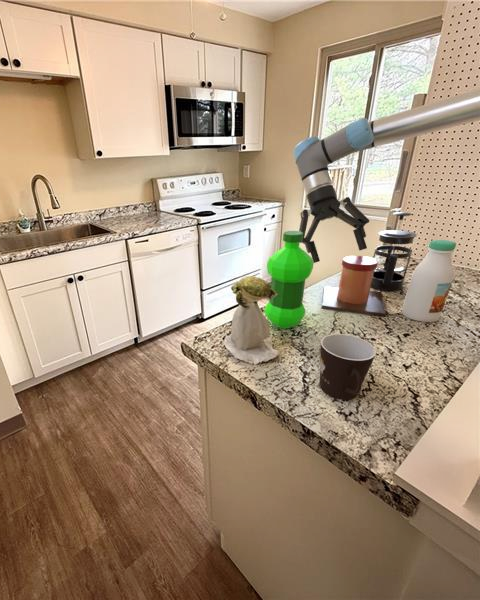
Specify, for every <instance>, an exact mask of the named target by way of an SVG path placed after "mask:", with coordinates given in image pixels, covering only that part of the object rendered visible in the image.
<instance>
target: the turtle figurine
mask: <svg viewBox="0 0 480 600" xmlns="http://www.w3.org/2000/svg"><path fill="white" fill-rule="evenodd" d="M230 289H231V291H232V294H234V295H235V302H236V303H237V304H238V306H237V308H236V309H235V310H234V313H233V315H232V318H231V327H230V328H231V331H230V333H231V334H230V335H226V336H225V337H224V339H223V343H224V347H225V348H226V349H227V350H228V351H229V353H230V354H231V355H232V356H233V357H234V358H235V359H238V360H240V361H244V362H245V363H249V364H250V365H252V364H253V365H254V366H256V365H257V364H259V363H262V362H263V363H266V362H268V361H270V360H273V359H275V358H277V357H278V356H280V351H279V350H277V349H274V348H273V339H272V338H273V335H272V336H271V331H272V327H271V324H270V323H271V322H270V323H269V320H268V318H267V317H266V315H264V313H263V311H262V309H261V308H260V306H261V304H258V302H259V301H262V300H264V299H267V300H270V299H272V298H273V297H274V296H276V295H277V294H276V292H275V291H274V290H273V289H272V288H271V283H269V282H268V281H267V280H265V279H263V278H261V277H258V276H254V275H251V276H250V275H249V276H248V275H247V276H243V277H242V278H241V279H240V280H237V281H236V282H235V283H233V284H232V286H231V288H230Z"/></svg>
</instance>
